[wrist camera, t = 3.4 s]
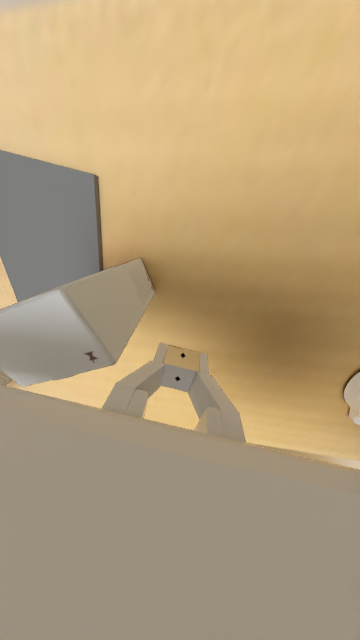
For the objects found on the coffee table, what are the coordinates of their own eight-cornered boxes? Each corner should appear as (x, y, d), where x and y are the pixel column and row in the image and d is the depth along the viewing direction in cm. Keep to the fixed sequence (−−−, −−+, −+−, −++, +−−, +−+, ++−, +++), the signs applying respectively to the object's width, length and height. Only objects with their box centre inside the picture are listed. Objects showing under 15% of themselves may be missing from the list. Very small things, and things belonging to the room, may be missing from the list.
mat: (97, 176, 13) (93, 174, 13) (106, 335, 22) (103, 338, 22) (-36, 142, 13) (-45, 138, 13) (28, 315, 22) (24, 317, 22)
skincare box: (141, 256, 16) (61, 286, 5) (156, 292, 18) (119, 367, 7) (92, 273, 17) (-56, 329, 6) (111, 306, 19) (22, 391, 8)
